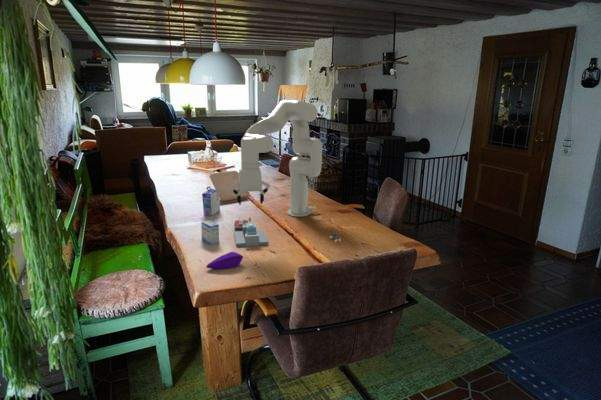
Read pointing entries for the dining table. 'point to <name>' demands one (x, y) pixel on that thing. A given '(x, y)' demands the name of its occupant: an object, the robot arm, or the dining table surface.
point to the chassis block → (250, 238)
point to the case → (227, 186)
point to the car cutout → (335, 236)
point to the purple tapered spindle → (226, 261)
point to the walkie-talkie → (241, 224)
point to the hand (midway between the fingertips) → (250, 203)
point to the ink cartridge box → (211, 201)
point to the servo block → (250, 228)
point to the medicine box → (210, 232)
